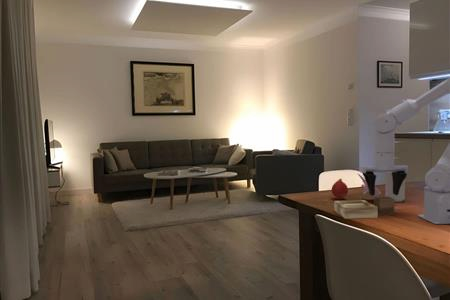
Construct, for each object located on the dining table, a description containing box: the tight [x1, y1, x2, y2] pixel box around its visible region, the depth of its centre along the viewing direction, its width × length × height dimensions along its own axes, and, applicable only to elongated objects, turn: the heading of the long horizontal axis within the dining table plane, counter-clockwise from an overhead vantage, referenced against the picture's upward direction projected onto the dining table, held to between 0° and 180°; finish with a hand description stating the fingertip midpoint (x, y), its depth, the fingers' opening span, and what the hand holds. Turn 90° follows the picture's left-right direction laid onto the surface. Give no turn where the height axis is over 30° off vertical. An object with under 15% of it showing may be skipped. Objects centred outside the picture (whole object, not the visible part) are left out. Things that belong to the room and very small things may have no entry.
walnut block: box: [373, 195, 395, 216], centre depth 119 cm, size 4×4×5 cm
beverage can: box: [384, 172, 406, 203], centre depth 136 cm, size 6×6×12 cm
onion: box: [331, 178, 349, 201], centre depth 139 cm, size 6×6×8 cm
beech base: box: [333, 199, 379, 220], centre depth 118 cm, size 10×10×3 cm
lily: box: [357, 173, 382, 200], centre depth 135 cm, size 12×12×10 cm
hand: (383, 194), depth 119 cm, fingers open, 7 cm apart
